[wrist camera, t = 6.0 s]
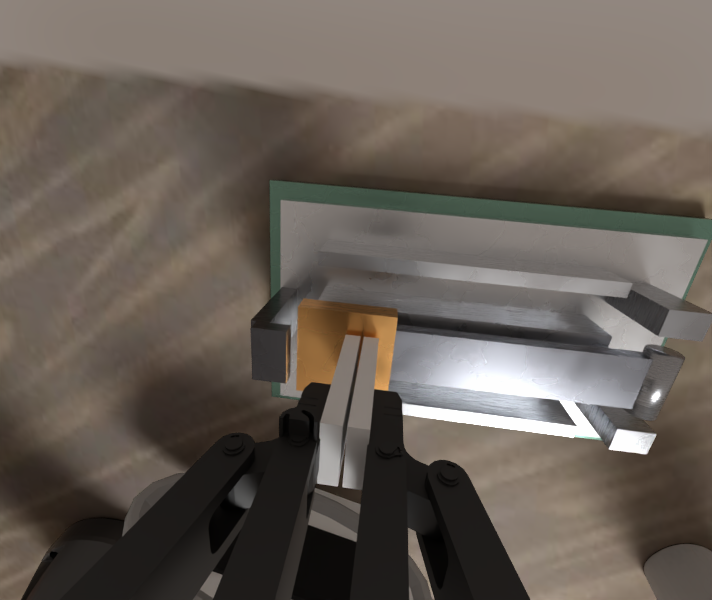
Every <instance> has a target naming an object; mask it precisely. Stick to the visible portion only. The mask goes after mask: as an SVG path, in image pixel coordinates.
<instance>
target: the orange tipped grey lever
mask: <svg viewBox="0 0 712 600" xmlns="http://www.w3.org/2000/svg"><path fill="white" fill-rule="evenodd" d="M397 320H398V310H397V308H388V307H378V306H369V305H360V304H351V303H342V302H332V301H323V300H314V299H305V298H303V300H302V301H301V303H300V304H299V306H298V328H297V378H296V390H298V391H303V390H304V388H305V387H306V386H308V385H309V384H310V383H311V382H316V383H323V384H331V383H332V380H333V376H334V373H335V370H336V366H337V363H338V359H339V356H340V352H341V349H342V346H343V342H344V339H345V335H355V336H361V338H360V349H359V359H358V366H359V361H360V355H361V350H362V344H363V339H364V337H372V338H379V343H378V354H377V364H376V375H375V386H374V389H377V390H385V391H388V388H389V380H395V381H403V382H412V383H420V384H428V385H436V386H445V387H453V388H461V389H469V390H478V391H486V392H494V393H503V394H511V395H519V396H527V397H536V398H544V399H552V400H560V401H569V402H577V403H585V404H593V405H602V406H610V407H618V408H623V409H624V410H625V411H626V412H627V413H629V414H631V415H633V416H635V417H637V418H640V419H643V420H649V421H653V420H656V418H657V416H658V414H659V412H660V410H661V408H662V406H663V404H664V402H665V400H666V398H667V396H668V393H669V391H670V389H671V387H672V385H673V383H674V381H675V379H676V377H677V375H678V373H679V371H680V368H681V366H682V364H683V362H684V360H685V357H684V356H683V355H682V354H680V353H679V352H677V351H675V350H672V349H670V348H667V347H663V346H659V345H653V344H648V345H645V347H644V349H643V352H640V351H631V350H622V349H613V348H604V347H595V346H586V345H577V344H568V343H559V342H550V341H541V340H532V339H523V338H514V337H505V336H496V335H487V334H478V333H469V332H460V331H451V330H442V329H433V328H424V327H416V326H407V325H398V324H397ZM357 372H358V370H357Z"/></svg>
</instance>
